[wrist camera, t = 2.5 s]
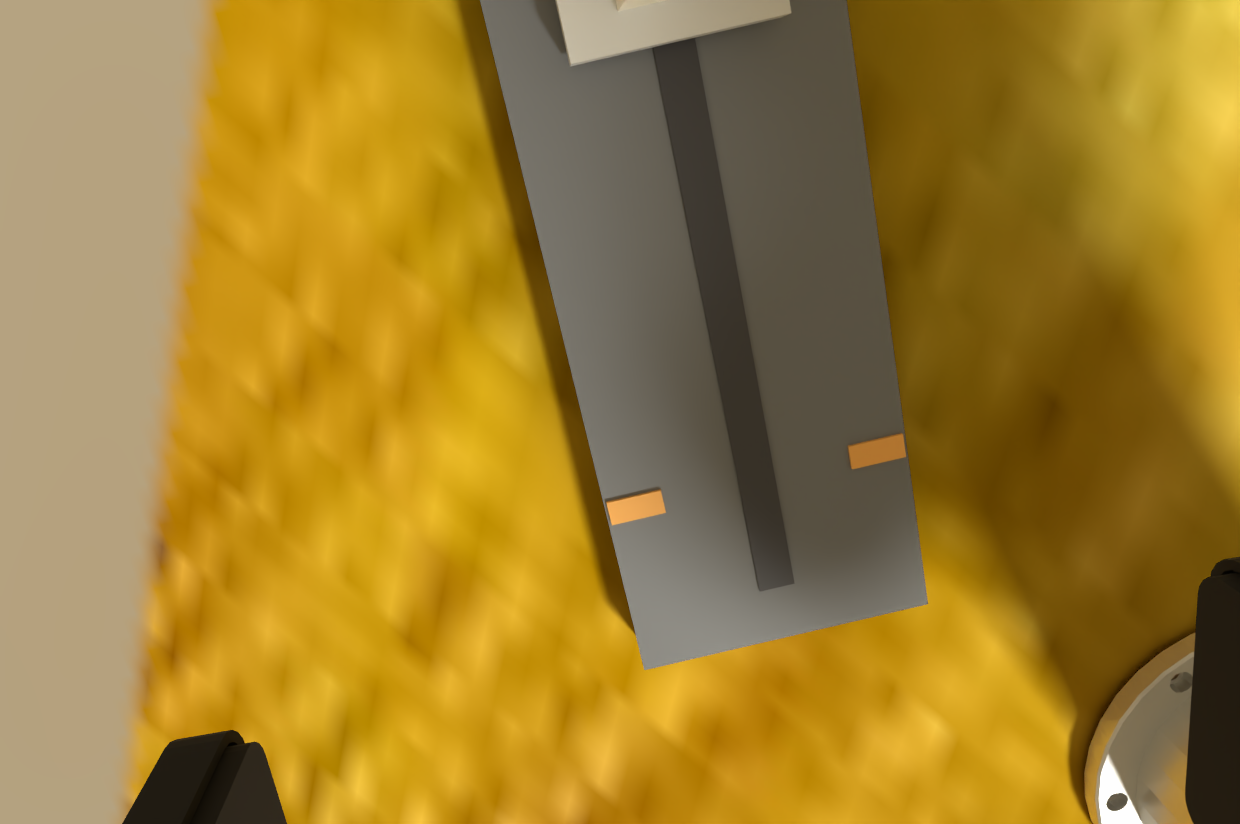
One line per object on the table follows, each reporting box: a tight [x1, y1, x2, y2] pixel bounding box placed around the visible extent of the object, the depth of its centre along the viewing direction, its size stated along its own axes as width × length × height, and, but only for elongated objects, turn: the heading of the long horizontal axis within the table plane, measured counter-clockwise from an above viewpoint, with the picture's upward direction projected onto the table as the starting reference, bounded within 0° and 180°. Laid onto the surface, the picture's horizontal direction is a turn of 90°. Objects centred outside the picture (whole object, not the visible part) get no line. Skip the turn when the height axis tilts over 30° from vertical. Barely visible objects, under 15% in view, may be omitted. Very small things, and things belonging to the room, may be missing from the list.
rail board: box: [480, 0, 928, 670], centre depth 30 cm, size 10×26×2 cm, turn 12°
